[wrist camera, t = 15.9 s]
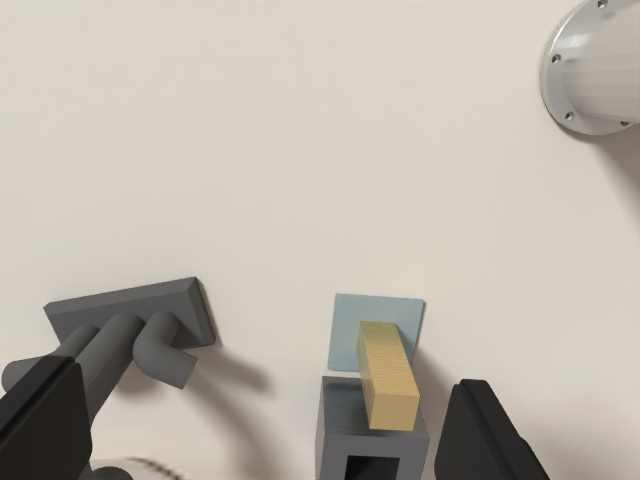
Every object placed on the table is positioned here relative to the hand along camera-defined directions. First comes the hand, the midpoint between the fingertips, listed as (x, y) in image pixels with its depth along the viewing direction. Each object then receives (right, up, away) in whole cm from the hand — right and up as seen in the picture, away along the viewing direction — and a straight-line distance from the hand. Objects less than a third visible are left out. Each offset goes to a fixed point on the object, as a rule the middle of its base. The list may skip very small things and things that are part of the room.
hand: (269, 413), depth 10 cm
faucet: (-20, -8, +39) cm, 44 cm away
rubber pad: (+8, -7, +38) cm, 40 cm away
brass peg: (+8, -7, +38) cm, 39 cm away
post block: (+7, -18, +42) cm, 47 cm away
